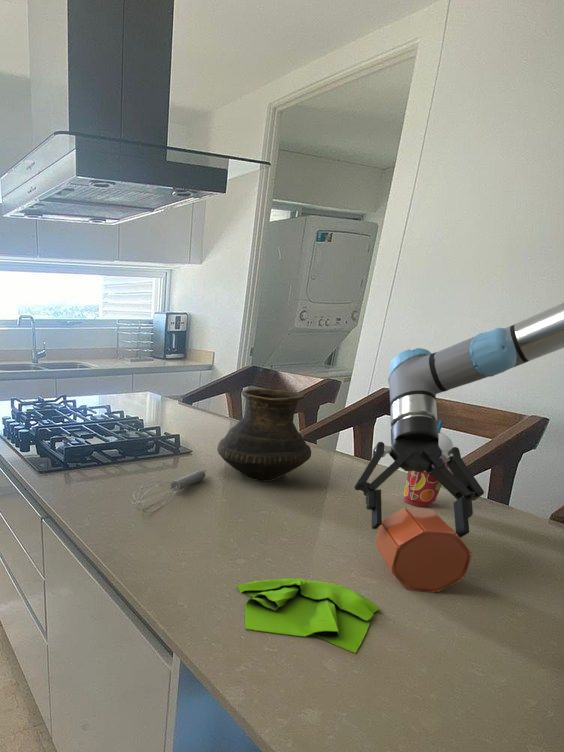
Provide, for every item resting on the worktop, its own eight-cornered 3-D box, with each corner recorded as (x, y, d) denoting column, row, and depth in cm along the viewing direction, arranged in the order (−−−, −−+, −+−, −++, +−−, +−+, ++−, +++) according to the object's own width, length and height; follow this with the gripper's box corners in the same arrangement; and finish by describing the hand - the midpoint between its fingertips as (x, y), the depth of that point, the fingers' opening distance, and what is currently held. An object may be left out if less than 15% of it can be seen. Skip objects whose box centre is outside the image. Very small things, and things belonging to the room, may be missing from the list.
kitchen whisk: (214, 479, 131) (217, 456, 128) (149, 521, 106) (150, 494, 103) (194, 474, 134) (196, 452, 132) (126, 514, 109) (126, 488, 106)
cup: (370, 559, 91) (384, 505, 86) (435, 566, 89) (453, 511, 84) (385, 587, 82) (402, 528, 78) (458, 595, 80) (479, 535, 75)
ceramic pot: (315, 472, 138) (331, 391, 128) (291, 498, 119) (308, 406, 110) (233, 457, 150) (242, 383, 141) (200, 478, 131) (208, 394, 122)
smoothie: (406, 493, 123) (428, 415, 115) (442, 503, 117) (469, 421, 109) (392, 501, 118) (414, 419, 110) (429, 512, 112) (456, 426, 104)
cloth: (394, 608, 76) (398, 595, 75) (335, 675, 62) (339, 661, 61) (275, 562, 89) (277, 550, 88) (205, 608, 75) (206, 595, 74)
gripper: (476, 440, 92) (487, 545, 85) (337, 431, 97) (336, 530, 90) (500, 418, 85) (513, 530, 78) (348, 409, 90) (348, 515, 83)
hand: (419, 530), depth 84 cm, fingers open, 13 cm apart
